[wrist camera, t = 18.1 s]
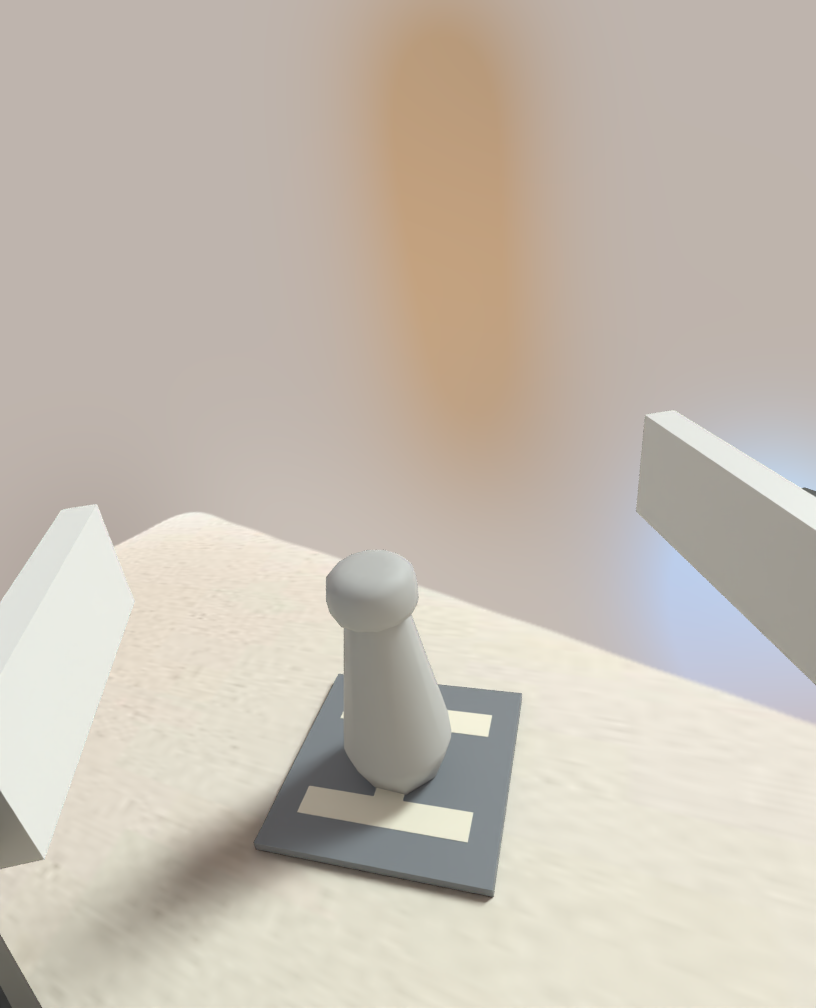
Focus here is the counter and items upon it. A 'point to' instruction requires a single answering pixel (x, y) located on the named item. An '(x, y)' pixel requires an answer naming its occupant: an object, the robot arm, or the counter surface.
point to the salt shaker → (386, 673)
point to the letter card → (403, 799)
